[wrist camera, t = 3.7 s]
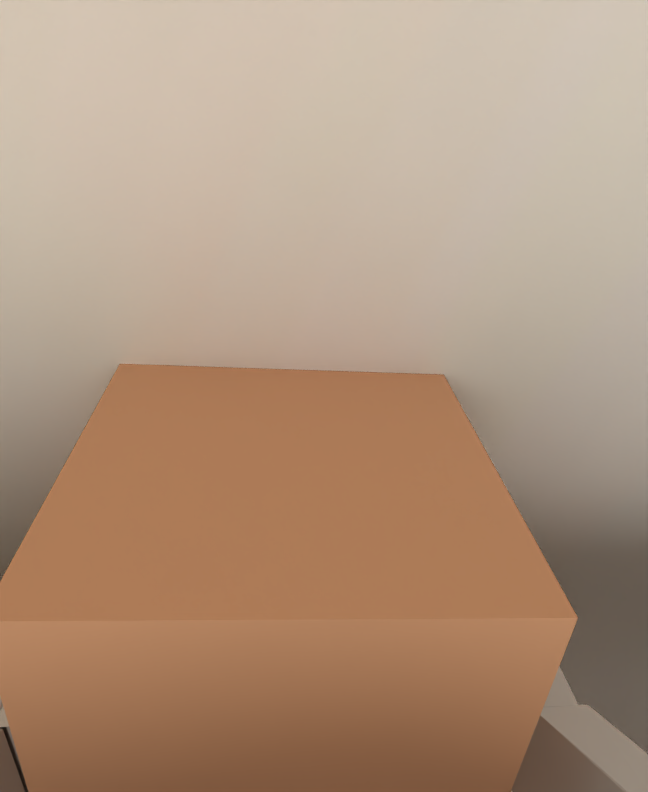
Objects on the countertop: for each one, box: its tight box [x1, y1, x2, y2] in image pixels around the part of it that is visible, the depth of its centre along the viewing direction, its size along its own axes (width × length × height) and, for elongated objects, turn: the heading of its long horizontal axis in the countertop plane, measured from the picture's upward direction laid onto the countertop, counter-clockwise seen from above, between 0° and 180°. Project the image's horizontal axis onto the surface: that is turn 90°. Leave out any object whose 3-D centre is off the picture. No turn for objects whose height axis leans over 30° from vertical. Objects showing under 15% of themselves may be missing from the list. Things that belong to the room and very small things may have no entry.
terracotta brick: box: [0, 364, 578, 792], centre depth 9 cm, size 5×8×5 cm, turn 176°
